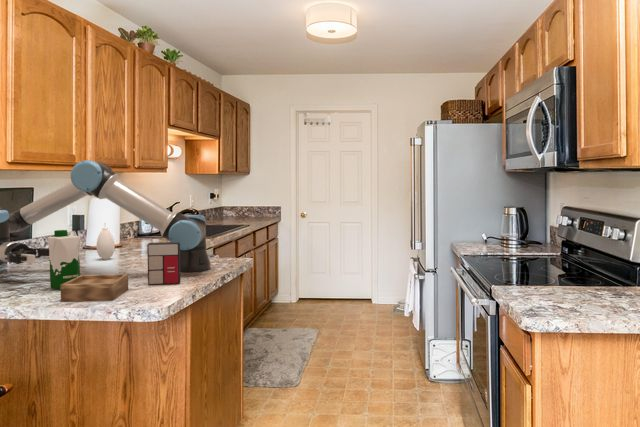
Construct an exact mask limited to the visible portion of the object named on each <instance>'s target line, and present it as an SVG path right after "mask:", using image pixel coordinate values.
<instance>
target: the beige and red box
mask: <svg viewBox="0 0 640 427" xmlns="http://www.w3.org/2000/svg"><path fill="white" fill-rule="evenodd" d="M146 247H147V248H146V249H147V252H146V253H147V285H148V286H154V285H155V286H159V285H160V286H161V285H162V286H163V285H179V284H180V283H181V271H180V242H170V241H165V242H163V241H162V242H161V241H159V242H158V241H157V242H148V243H147V244H146Z"/></svg>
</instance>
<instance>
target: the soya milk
mask: <svg viewBox="0 0 640 427" xmlns="http://www.w3.org/2000/svg"><path fill="white" fill-rule="evenodd" d="M53 235H54V236H53ZM53 235H52V236H47V243H48V244H47V245H48V248H49V256H48V257H49V283H50V289H53V290H58V291H61V289H60V285H61V284H63V283H66V282H68V281H70V280H72V279H74V278H76V277H78V276H81V270H80V269H81V265H80V263H81V262H80V261H81V260H80V257H81V256H80V245H81V238H82V237H81V236H78V235H71V234H70V235H69V234H68V230H67V229H58V230H54V234H53Z"/></svg>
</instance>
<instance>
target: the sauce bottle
mask: <svg viewBox="0 0 640 427" xmlns="http://www.w3.org/2000/svg"><path fill="white" fill-rule="evenodd" d="M106 225H107V224H106V223H104V227H102V228H101V231H100V233H99V234H98V236H97V239H96V240H97V241H96V252H97V254H98V256H99V258H101V259H102V260H105V261H107V260H109V259H111V258H112V257H113V255H114V252H115V250H116V249H115V248H116V246H115V239H114V237H113V235H112V233H111V231H110V230H109V228H108V227H106Z"/></svg>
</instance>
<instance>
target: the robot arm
mask: <svg viewBox="0 0 640 427" xmlns="http://www.w3.org/2000/svg"><path fill="white" fill-rule="evenodd" d="M86 196H90V197H92V196H93V197H95V198H97V199H98V200H108V201H110V202H112V203H113V204H115V205H116V206H117V207H119V208H121V209H123V210H124V211H126V212H128V213H129V214H131V215H133V216H135V217H137V218H138V219H140V220H141V221H143V222H145V223H146V224H148V225H150V226H152V228H154V229H156V230H158V231H159V232H160V235H161V237H162V238H163V239H166V240H167V241H168V242H180V272H181V273H182V272H184V273H185V272H186V273H188V272H189V273H191V272H201V271H207V270H206V269H208V270H210V269H211V261H210V257H209V255H208V252H207V228H206V226H207V220H206V216H204V215H199V214H183V213H181V212H180V211H175V212H172V211H170V210H169V209H167V208H165V207H164V206H162V205H160V204H159V203H158V202H156V201H154V200H152V199H151V198H149V197H147V196H146V195H145V194H143V193H141V192H139V191H137V190H136V189H134V188H133V187H131V186H130V185H128V184H126V183H125V182H123V181H122V180H120V178H119V175H118V174H117V173H116V172H114V170H113V169H112V167H111V166H109V164H107V163H104V162H101V161H94V160H91V159H90V160H89V159H87V160H82V161H81V160H80V161H79V162H77V163H76V164H75V165H74V166H73V167H72V169H71V170H70V182H69V183H67V184H66V185H64V186H63V185H62V186H61V187H60V188H57V189H55V190H54V191H53V190H52V191H51V192H49V193H48V194H46V195H44V196H42V197H41V198H38V199H37V200H35V201H33V202H31V203H28V204H27V205H25V206H23V207H21V208H20V209H17V210H16V211H14V212H11V213H9V211H8V210H6V209H2V210H1V209H0V262H3V263H8V264H9V265H11V264H12V263H13V264H15V265H20V264H23V263H29V264H35V263H36V259H39V258H41V257H49V247H48V248H43V247H39V248H38V247H37V248H34V247H29V246H28V245H27V244H26V243H22V242H12V241H10V240H11V239H10V238H11V237H10V233H11V234H12V233H18V232H19V233H20V232H22V231H25V230H27V229H28V228H29V227H30V226H31V225H33V224H35V223H37V222H38V221H41V220H43V219H45V218H47V217H48V216H50V215H52V214H54V213H56V212H58V211H60V210H62V209H64V208H65V207H67V206H69V205H71V204H73V203H75V202H77V201H79V200H80V199H82V198H85V197H86ZM209 268H210V269H209Z"/></svg>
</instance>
